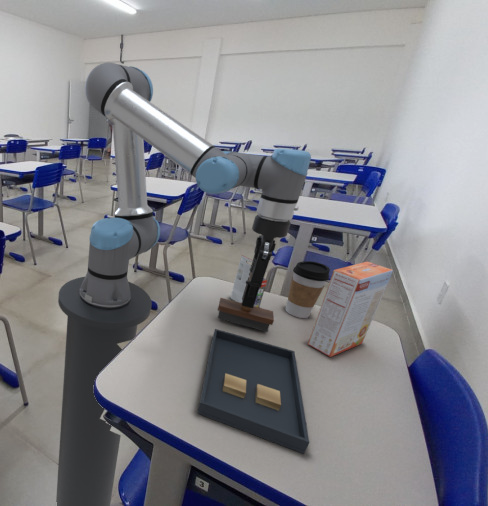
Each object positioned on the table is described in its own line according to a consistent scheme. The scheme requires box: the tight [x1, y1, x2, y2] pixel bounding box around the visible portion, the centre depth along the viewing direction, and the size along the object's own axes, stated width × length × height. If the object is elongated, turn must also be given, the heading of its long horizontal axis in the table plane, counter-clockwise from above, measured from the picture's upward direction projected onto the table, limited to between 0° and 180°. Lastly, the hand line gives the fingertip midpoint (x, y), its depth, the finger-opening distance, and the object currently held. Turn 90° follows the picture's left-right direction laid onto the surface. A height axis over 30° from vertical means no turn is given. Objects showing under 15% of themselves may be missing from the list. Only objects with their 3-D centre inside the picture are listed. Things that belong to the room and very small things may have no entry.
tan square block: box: [222, 373, 246, 398], centre depth 71 cm, size 4×4×2 cm
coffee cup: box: [285, 260, 331, 319], centre depth 99 cm, size 8×8×15 cm
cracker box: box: [307, 261, 394, 358], centre depth 85 cm, size 14×6×21 cm, turn 115°
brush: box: [217, 272, 275, 333], centre depth 92 cm, size 5×13×14 cm, turn 63°
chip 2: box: [255, 384, 281, 411], centre depth 69 cm, size 4×4×2 cm
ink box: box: [230, 254, 268, 308], centre depth 103 cm, size 4×8×15 cm, turn 21°
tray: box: [197, 328, 310, 455], centre depth 73 cm, size 27×17×3 cm, turn 153°
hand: (247, 303), depth 92 cm, fingers closed on brush, 3 cm apart
